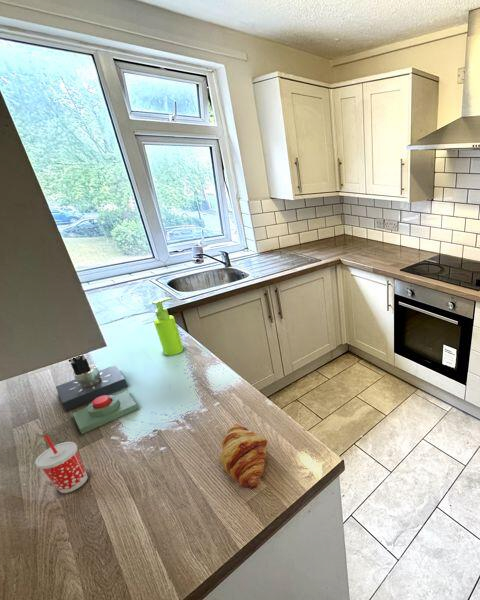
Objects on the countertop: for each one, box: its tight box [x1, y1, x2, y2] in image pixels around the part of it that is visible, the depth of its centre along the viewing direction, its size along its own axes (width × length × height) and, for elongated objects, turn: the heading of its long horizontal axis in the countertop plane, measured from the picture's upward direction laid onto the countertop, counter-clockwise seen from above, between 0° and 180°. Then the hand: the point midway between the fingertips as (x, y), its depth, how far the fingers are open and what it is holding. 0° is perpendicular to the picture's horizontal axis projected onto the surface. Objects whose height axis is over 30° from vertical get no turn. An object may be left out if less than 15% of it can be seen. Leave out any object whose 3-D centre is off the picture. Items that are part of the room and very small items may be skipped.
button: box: [91, 394, 111, 409], centre depth 89 cm, size 4×4×2 cm
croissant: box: [218, 423, 268, 490], centre depth 76 cm, size 21×10×8 cm, turn 36°
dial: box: [72, 364, 102, 388], centre depth 97 cm, size 5×5×5 cm
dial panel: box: [55, 364, 129, 412], centre depth 98 cm, size 14×11×3 cm
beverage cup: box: [35, 434, 88, 494], centre depth 68 cm, size 6×6×14 cm
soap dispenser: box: [152, 297, 184, 356], centre depth 116 cm, size 6×7×20 cm
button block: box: [72, 390, 139, 435], centre depth 90 cm, size 12×9×4 cm
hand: (79, 366), depth 95 cm, fingers open, 9 cm apart
